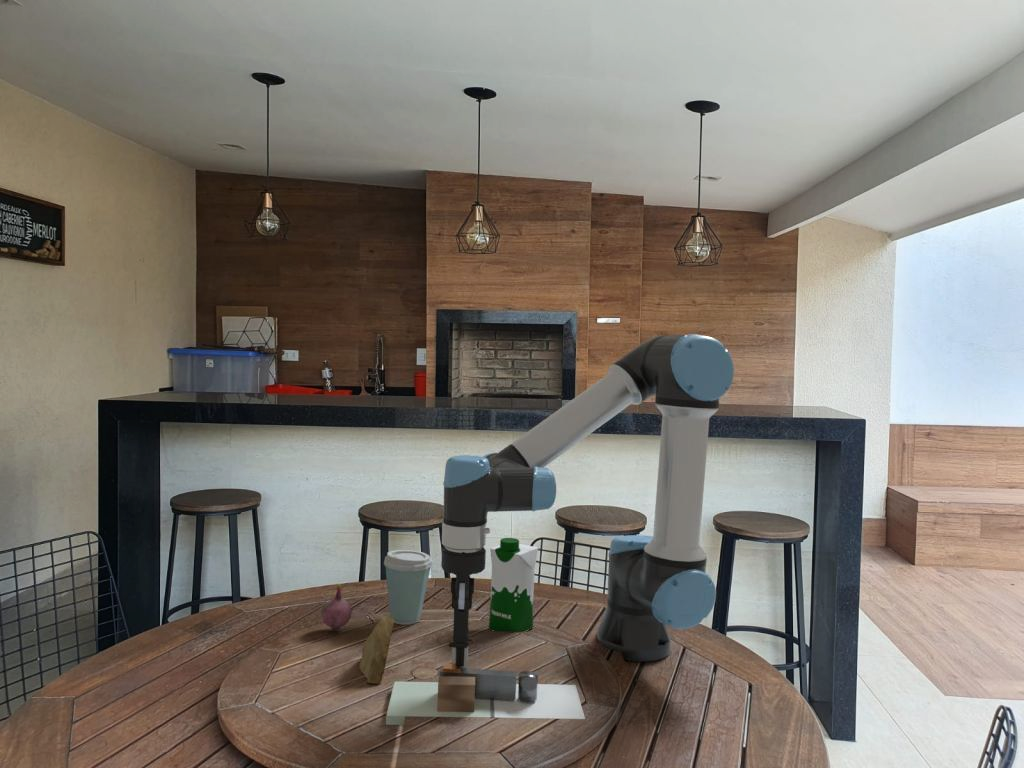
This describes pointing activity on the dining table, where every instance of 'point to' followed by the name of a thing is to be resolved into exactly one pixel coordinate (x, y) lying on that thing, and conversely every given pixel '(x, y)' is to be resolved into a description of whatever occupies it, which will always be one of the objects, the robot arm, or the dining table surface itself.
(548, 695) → the door plate
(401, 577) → the disposable coffee cup
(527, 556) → the milk carton
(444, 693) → the block
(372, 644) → the rock
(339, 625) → the vegetable
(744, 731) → the dining table surface
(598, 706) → the dining table surface
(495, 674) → the bar
